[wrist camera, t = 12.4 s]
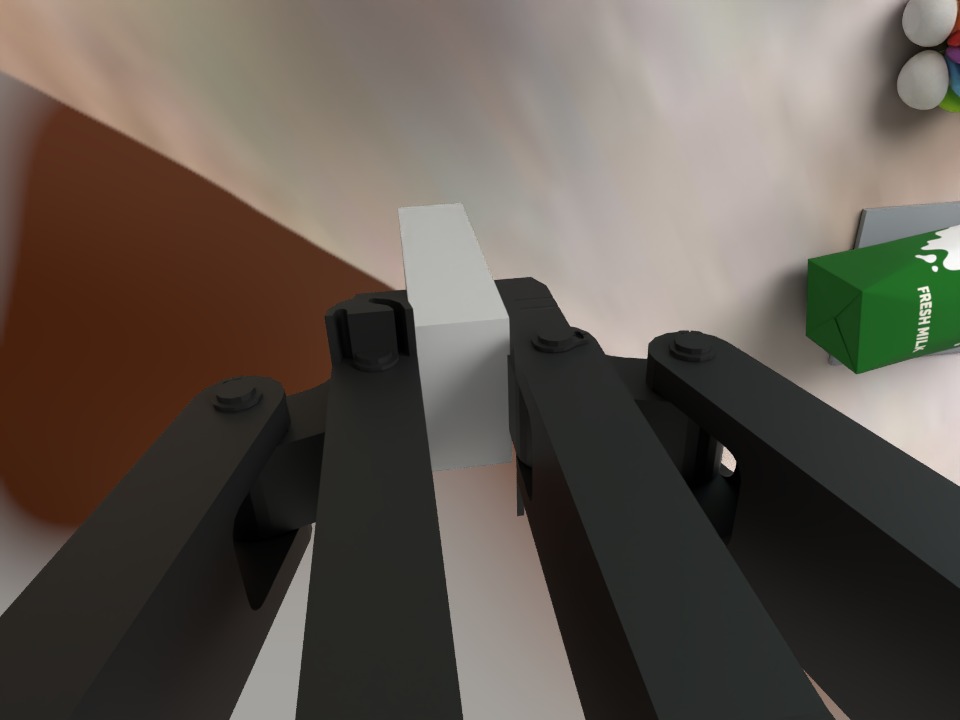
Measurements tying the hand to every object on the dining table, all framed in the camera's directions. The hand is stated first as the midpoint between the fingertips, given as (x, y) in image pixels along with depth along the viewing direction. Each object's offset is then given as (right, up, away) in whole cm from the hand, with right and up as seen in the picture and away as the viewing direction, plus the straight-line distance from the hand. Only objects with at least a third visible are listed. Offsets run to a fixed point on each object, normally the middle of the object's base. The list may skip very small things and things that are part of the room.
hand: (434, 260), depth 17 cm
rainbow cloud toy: (+35, +21, +34) cm, 53 cm away
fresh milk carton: (+28, +1, +37) cm, 47 cm away
